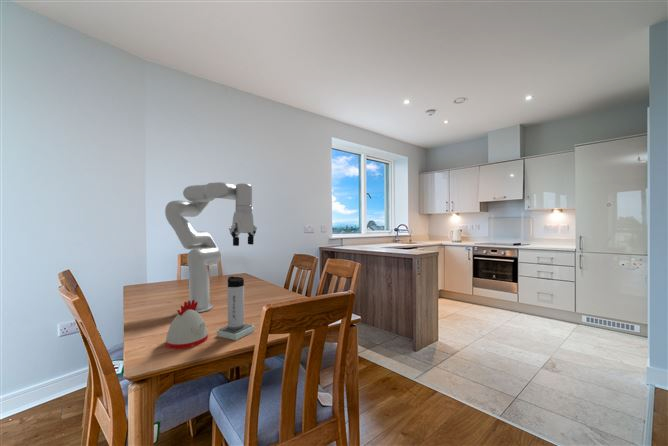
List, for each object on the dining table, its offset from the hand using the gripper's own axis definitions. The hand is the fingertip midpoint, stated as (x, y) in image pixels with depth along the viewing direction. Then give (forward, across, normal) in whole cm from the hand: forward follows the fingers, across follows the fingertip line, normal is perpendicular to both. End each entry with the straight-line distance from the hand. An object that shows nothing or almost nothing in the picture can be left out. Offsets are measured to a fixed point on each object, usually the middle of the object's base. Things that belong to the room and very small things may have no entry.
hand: (243, 245), depth 134 cm
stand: (+34, +18, +13) cm, 41 cm away
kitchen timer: (+34, +31, +2) cm, 46 cm away
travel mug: (+32, +18, +13) cm, 39 cm away
